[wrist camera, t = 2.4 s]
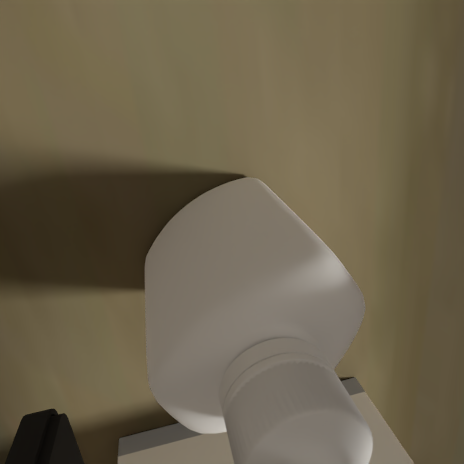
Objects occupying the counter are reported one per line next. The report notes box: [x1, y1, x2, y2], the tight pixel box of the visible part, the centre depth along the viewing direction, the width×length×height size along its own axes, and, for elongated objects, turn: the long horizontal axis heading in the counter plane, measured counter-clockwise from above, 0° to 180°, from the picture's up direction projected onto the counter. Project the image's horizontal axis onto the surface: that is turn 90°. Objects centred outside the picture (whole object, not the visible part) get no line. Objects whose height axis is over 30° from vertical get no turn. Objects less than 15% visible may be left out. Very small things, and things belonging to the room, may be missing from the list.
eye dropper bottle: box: [145, 177, 373, 464], centre depth 11 cm, size 4×6×12 cm
